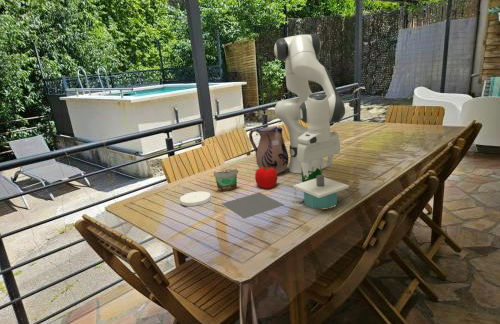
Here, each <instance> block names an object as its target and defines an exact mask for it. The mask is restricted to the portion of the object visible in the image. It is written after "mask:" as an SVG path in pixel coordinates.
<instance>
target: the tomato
mask: <svg viewBox="0 0 500 324" xmlns="http://www.w3.org/2000/svg"><path fill="white" fill-rule="evenodd" d="M254 178H255V183H256V184H257V186H258V187H260V188H261V189H266V190H267V189H268V190H269V189H272V188H274V187H275V185H276V184H277V181H278V174H277V172H276V170H275V169H274V168H270V167H262V168H259V167H258V168H257V169H256V170H255V175H254Z"/></svg>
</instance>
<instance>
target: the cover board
mask: <svg viewBox="0 0 500 324" xmlns="http://www.w3.org/2000/svg"><path fill="white" fill-rule="evenodd" d="M292 186H293V187H292V188H294V189H295V190H296V189H297V190H298V191H301V192H303V193H304V192H306V193H308V194H311V195H313V196H316V197H318V198H321V197H323V196H326V195H329V194H332V193H335V192H337V193H338V192H341V191H344V190H346V189H349V188H350V186H349V184H345V183H344V182H343V183H342V182H339V181H336V180H333V179H330V178H327V177H326V176H325V175H323V174H322V175H317V176H316V178H315V179H312V180H309V181H305V182H300V183H297V184H293V185H292Z"/></svg>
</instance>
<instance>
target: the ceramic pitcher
mask: <svg viewBox="0 0 500 324" xmlns="http://www.w3.org/2000/svg"><path fill="white" fill-rule="evenodd" d="M255 132H256V133H258V135H259V137H260V138H259V141H258V145H257V144H256V142H255V141H254V138H253V133H255ZM248 137H249V138H248V139H249V141H250V144H251V146H252V148H253V151H254V152H255V160H256V164H257V165H256V166H258V169H259V168H262V167H270V168H274V169H275V170H276V172H277V175H278V174H280V173H282V172H284V171H285V170H286V168H287V167H288V166H289V165H288V164H289V154H288V153H289V152H288V151H287V150H288V149H287V147H286V144H285V141H284V138H283V128H282V127H278V125H270V126H263V127H259V128H258V127H257V128H252V129H251V130H250V131H249V133H248Z"/></svg>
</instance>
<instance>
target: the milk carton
mask: <svg viewBox="0 0 500 324" xmlns="http://www.w3.org/2000/svg"><path fill="white" fill-rule="evenodd" d="M311 165H312V166H313V167H314V171H309V170H308V166H307V164H306V163H302V162H301V170H302V173H301V181H302V182H305V181H309V180H312V179H315V178H316V176H317V175H323V174H322V173H323V172H322V169H321V158H320V159H317V160H313V161H312V163H311ZM302 182H301V183H302Z"/></svg>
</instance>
